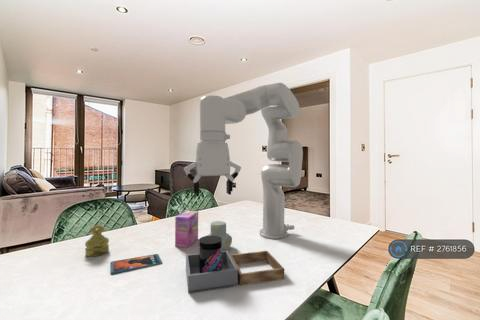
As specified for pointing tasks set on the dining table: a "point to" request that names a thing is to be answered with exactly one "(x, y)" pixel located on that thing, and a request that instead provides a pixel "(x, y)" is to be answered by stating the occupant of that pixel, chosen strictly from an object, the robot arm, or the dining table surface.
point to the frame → (258, 276)
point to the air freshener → (221, 233)
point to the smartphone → (134, 263)
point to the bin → (210, 274)
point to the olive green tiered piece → (97, 242)
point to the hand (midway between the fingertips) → (213, 194)
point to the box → (186, 228)
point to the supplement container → (210, 254)
